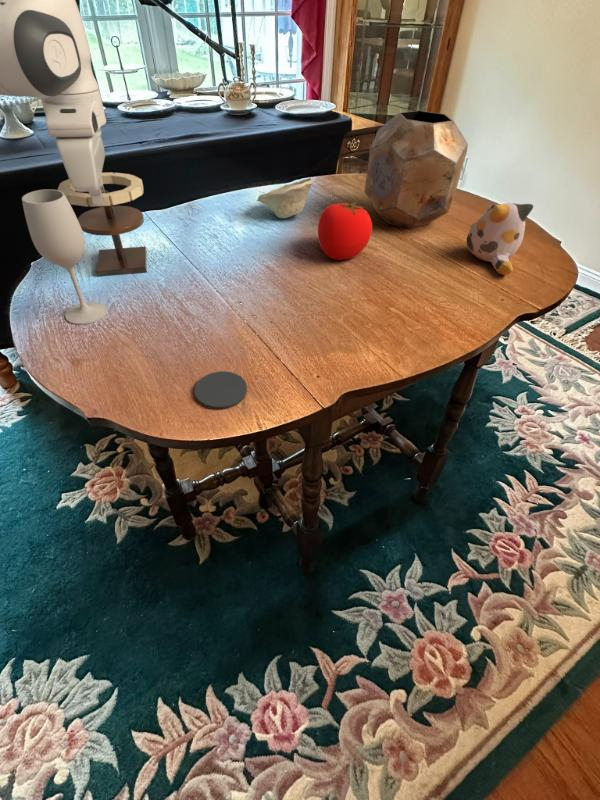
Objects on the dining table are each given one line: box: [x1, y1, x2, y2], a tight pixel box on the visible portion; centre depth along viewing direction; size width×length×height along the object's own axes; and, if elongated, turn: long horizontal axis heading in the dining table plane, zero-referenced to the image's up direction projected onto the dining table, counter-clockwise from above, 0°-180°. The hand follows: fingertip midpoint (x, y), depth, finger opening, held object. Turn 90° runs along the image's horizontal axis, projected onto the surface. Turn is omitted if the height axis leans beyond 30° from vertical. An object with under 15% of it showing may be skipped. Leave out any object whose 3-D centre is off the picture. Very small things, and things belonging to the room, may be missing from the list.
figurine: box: [466, 202, 534, 276], centre depth 97 cm, size 12×17×15 cm
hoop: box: [57, 171, 144, 208], centre depth 84 cm, size 15×15×2 cm
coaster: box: [194, 370, 248, 410], centre depth 67 cm, size 8×8×1 cm
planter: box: [364, 110, 469, 229], centre depth 110 cm, size 22×24×24 cm
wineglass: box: [21, 188, 108, 326], centre depth 73 cm, size 8×8×21 cm
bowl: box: [256, 177, 315, 219], centre depth 113 cm, size 15×14×10 cm
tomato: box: [317, 201, 373, 261], centre depth 98 cm, size 12×14×11 cm
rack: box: [77, 189, 148, 278], centre depth 89 cm, size 13×13×15 cm
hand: (99, 200), depth 79 cm, fingers closed on hoop, 2 cm apart
